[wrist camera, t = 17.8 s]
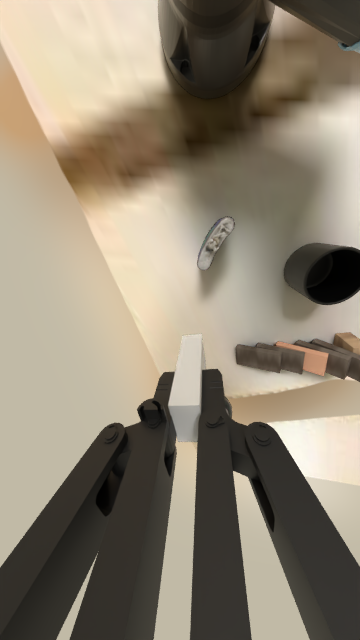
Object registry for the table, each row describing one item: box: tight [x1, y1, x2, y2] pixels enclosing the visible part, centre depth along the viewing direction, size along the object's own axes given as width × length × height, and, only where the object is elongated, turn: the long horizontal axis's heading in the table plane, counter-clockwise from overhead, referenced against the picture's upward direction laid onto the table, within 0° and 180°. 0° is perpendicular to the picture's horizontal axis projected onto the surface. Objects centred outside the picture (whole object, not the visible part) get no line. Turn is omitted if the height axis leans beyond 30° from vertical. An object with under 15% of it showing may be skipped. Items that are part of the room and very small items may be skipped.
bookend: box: [333, 333, 360, 355], centre depth 42 cm, size 7×3×6 cm, turn 10°
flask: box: [197, 216, 235, 270], centre depth 33 cm, size 9×3×11 cm, turn 151°
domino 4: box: [295, 340, 352, 379], centre depth 42 cm, size 5×2×10 cm
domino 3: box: [276, 341, 329, 376], centre depth 43 cm, size 5×2×10 cm
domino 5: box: [312, 339, 360, 382], centre depth 41 cm, size 5×2×10 cm
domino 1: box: [236, 345, 282, 373], centre depth 46 cm, size 5×2×10 cm
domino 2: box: [256, 343, 305, 374], centre depth 45 cm, size 5×2×10 cm
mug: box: [284, 243, 360, 305], centre depth 34 cm, size 9×12×9 cm
